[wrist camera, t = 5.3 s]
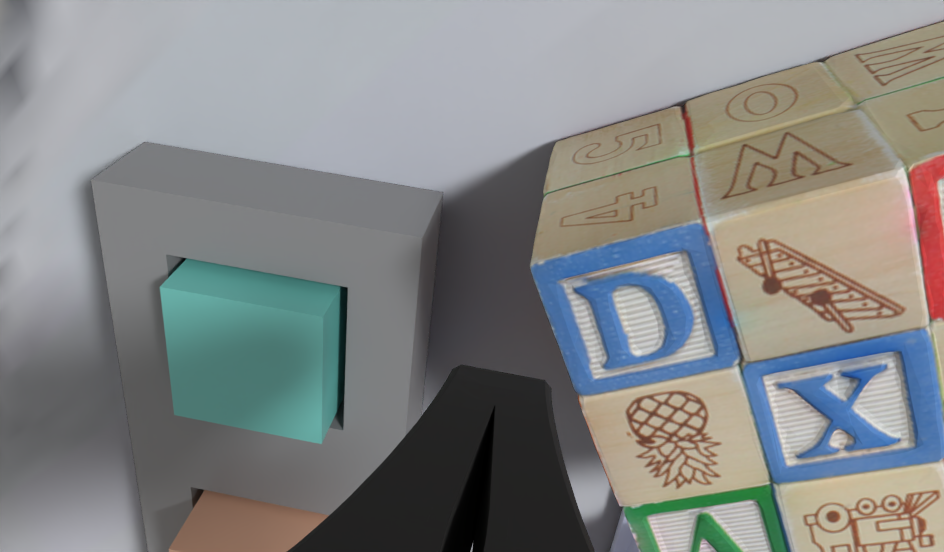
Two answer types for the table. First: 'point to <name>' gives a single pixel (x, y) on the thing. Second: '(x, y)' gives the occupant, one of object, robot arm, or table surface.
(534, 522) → the robot arm
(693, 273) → the stack of blocks
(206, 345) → the teal button
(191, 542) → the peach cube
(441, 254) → the table surface
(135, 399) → the button panel
